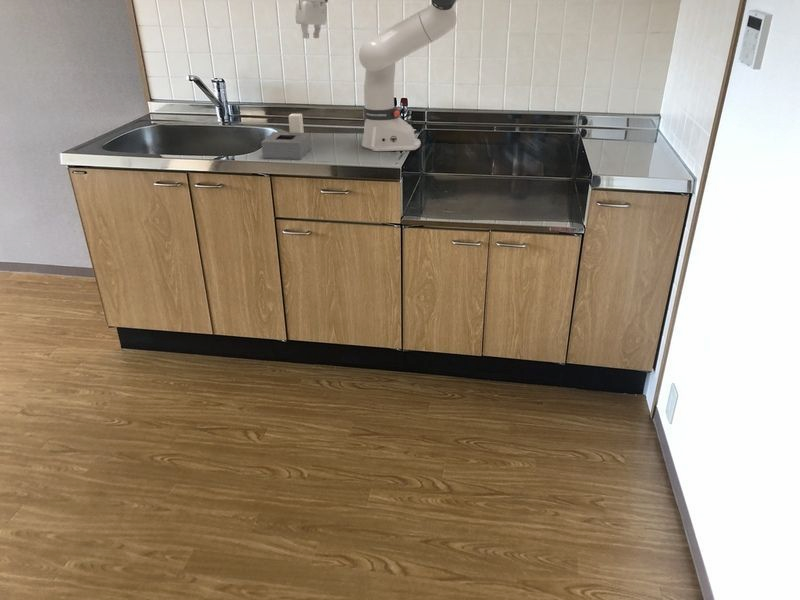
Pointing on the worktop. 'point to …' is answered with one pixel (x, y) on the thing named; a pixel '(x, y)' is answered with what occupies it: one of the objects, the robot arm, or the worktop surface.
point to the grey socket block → (286, 145)
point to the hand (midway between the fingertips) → (311, 38)
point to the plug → (296, 123)
